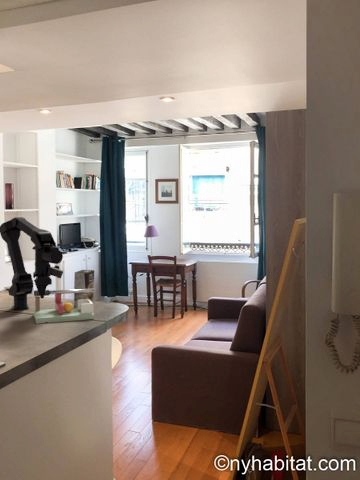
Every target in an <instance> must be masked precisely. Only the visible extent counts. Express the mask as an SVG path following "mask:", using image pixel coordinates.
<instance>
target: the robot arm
mask: <svg viewBox="0 0 360 480" xmlns="http://www.w3.org/2000/svg"><path fill="white" fill-rule="evenodd" d="M21 232H23V234H24V233H25V234H26V235H27V236H29V238H30V241H31V242H32V244H34V246H33V247H32V249H31V250H33V251H34V272H32V273H28V272H27V270H26V266H25V264H24V259H23V256H22V255H23V254H22V250H21V247H20V243H19V239H20V238H21ZM0 237H1V239H2V240H3V241H4V242H5V244H6V246H7V250H8V254H9V258H10V263H11V266H12V271H13V276H12V279H11V286H10V287H9V289H8V295H9V296H12V297H13V305H12V310H13V311H18V310H29V305H28V295H31V294H33V291H34V290H33V289H34V285H35V287H36V290H38V292H39V295H40V296H39V297H40V299H44V298H45V296H44V295H45V290H47V287H48V286H49V285H50V286H51V285H52V284H53V279H52V278H51V276H52V277H56V278H57V279H62V276H63V273H64V270H63V269H61V268H60V266H59V265H58V264H60V263H62V260H63V258H64V254H63V252H62V251H61V250H60V248H59V246H57V243H56V241H55V239H54V237H53V235H52V232H51V231H49V230H46V229H44V228H43V229H42V228H39V227H37V226H35V225H34V224H32V223H31V222H30V221H28V220H27V219H26V218H25V217H23V216H21V217H17V216H16V217H12V219H10V220H7V221H5V222H3V223H1V225H0ZM52 264H54V266H52ZM32 275H33V276H32Z"/></svg>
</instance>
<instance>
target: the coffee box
mask: <svg viewBox="0 0 360 480" xmlns="http://www.w3.org/2000/svg"><path fill="white" fill-rule="evenodd" d="M93 288H95V270H94V269H81V270H78V271H75V272H74V285H73V290H74V289H93ZM83 294H87V299H90V300H91V302H92V303H93V305H94V304H95V292H87V293H73V308H77V307H78V300H81V299H83Z"/></svg>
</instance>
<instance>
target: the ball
mask: <svg viewBox="0 0 360 480" xmlns="http://www.w3.org/2000/svg"><path fill="white" fill-rule="evenodd" d="M63 305H64V311H65V312H70V311H72V309H73V308H74V304H73V303H71V302H66V303H64V304H63Z"/></svg>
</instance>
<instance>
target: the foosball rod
mask: <svg viewBox="0 0 360 480" xmlns="http://www.w3.org/2000/svg"><path fill="white" fill-rule="evenodd" d="M87 292H94V293H96V292H97V289H96V288H95V287H94V288H93V289H74V288H73V289H61V290H60V289H57V290H49V289H46V290H45V295H44V297H45V296H46V297H47V296H48V297H49V296H50V295H54V304H55V305H54V309H56V311H57V313H58V314H61V313H64V304H63V301H62V295H63V294H64V295H65V294H66V295H67V294H68V295H69V294H74V293H87ZM33 296H34V297H40V295H39V292H38V290H37V289H36V290H33Z"/></svg>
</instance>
